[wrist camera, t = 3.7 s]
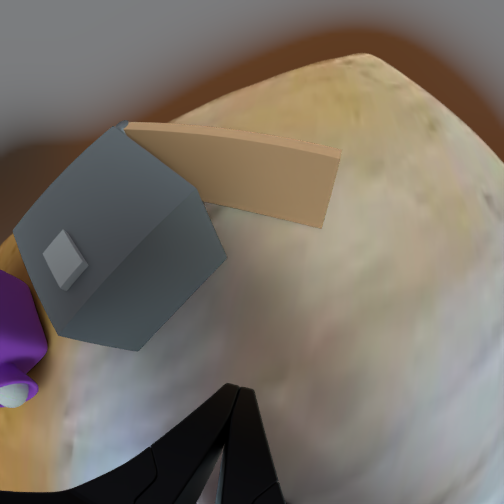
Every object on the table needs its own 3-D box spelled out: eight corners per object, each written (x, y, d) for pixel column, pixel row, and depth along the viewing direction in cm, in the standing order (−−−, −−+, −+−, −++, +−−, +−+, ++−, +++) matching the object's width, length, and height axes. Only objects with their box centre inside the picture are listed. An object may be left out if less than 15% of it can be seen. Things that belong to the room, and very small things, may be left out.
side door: (324, 215, 24) (342, 143, 16) (320, 230, 24) (339, 161, 15) (158, 180, 27) (122, 116, 19) (151, 192, 27) (112, 131, 18)
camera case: (227, 257, 24) (193, 181, 14) (137, 351, 21) (51, 333, 11) (150, 190, 27) (103, 116, 17) (76, 266, 25) (5, 218, 15)
